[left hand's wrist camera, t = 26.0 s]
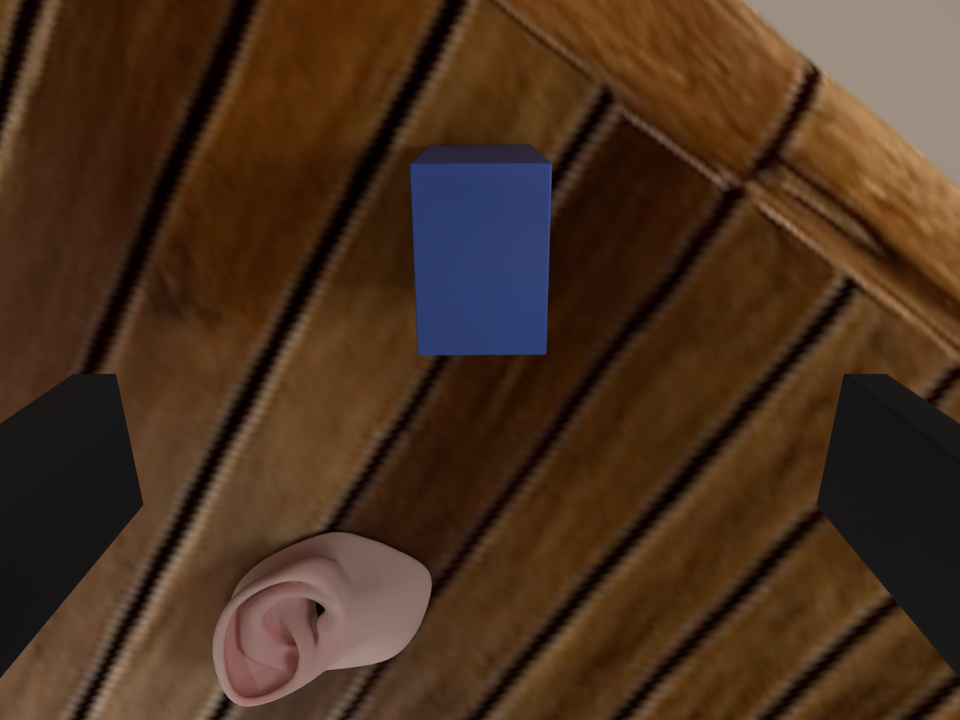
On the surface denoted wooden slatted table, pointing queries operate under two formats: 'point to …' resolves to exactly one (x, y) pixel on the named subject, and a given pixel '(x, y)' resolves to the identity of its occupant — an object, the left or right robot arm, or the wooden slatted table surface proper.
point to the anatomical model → (317, 615)
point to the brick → (481, 249)
